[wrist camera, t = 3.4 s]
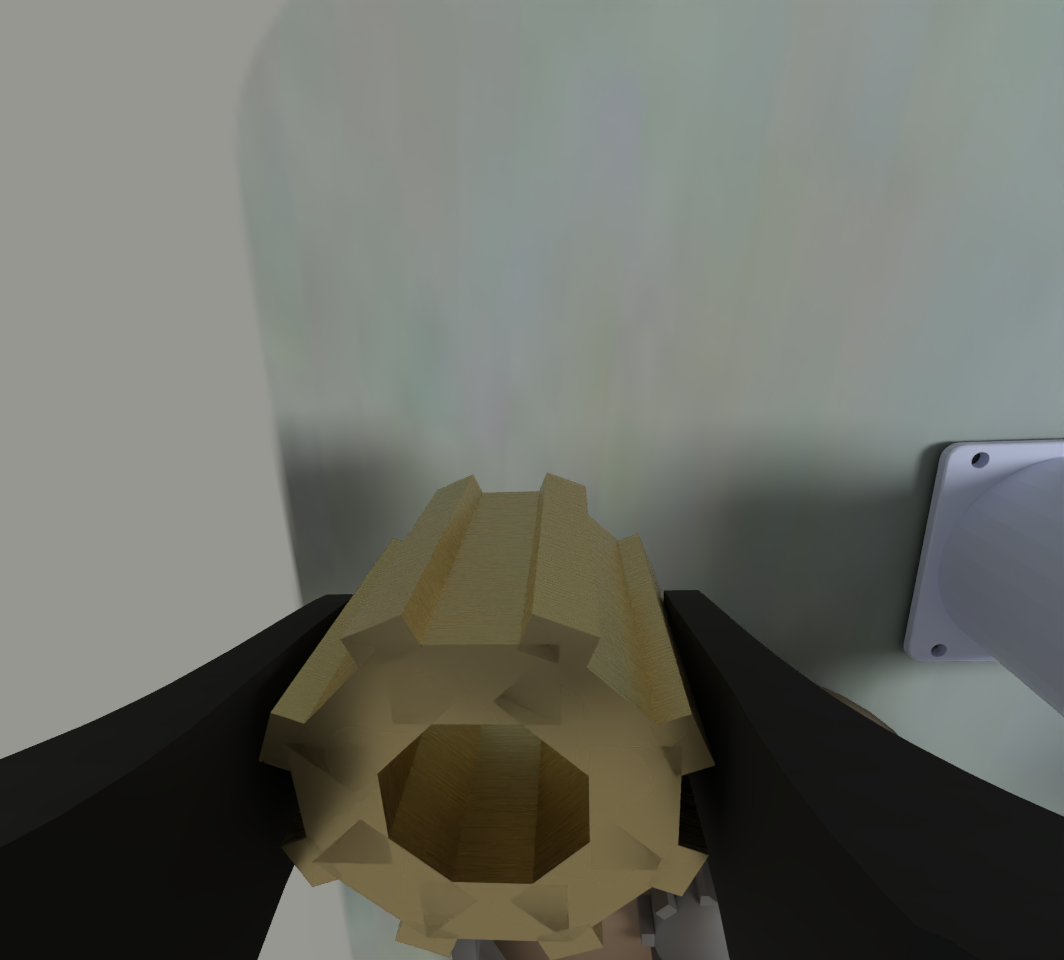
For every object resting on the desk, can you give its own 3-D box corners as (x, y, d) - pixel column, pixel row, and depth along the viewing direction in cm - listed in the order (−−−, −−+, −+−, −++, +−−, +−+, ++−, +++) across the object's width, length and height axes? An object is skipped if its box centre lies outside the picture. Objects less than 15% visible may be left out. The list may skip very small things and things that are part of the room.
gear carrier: (994, 663, 20) (1125, 776, 16) (900, 1027, 27) (972, 1184, 22) (429, 665, 22) (391, 769, 17) (472, 1011, 28) (454, 1155, 24)
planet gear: (654, 469, 11) (726, 612, 6) (649, 708, 12) (700, 965, 8) (369, 476, 11) (220, 616, 6) (403, 707, 13) (307, 952, 8)
